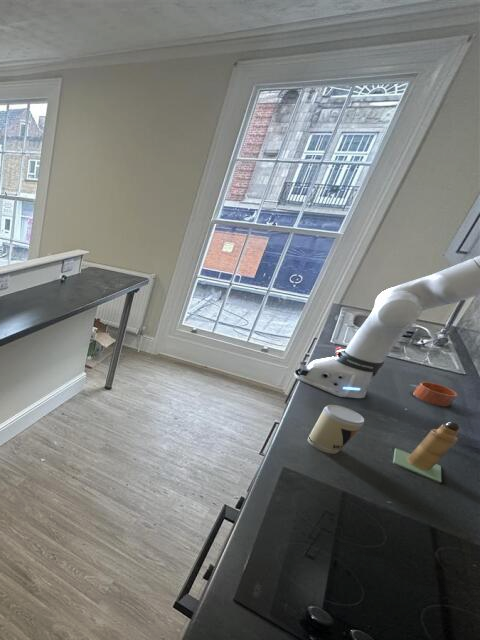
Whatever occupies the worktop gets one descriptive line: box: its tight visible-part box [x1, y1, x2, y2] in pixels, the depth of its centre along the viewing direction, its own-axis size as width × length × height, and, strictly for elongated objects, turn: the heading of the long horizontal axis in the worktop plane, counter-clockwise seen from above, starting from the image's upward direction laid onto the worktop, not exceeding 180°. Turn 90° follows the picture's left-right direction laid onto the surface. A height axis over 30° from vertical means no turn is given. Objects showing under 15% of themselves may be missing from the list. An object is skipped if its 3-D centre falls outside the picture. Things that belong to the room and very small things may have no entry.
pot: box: [412, 381, 459, 407], centre depth 151 cm, size 10×10×5 cm
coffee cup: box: [307, 404, 365, 455], centre depth 118 cm, size 9×9×12 cm
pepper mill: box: [407, 421, 461, 470], centre depth 112 cm, size 5×5×15 cm
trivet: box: [392, 447, 443, 484], centre depth 116 cm, size 10×10×1 cm
